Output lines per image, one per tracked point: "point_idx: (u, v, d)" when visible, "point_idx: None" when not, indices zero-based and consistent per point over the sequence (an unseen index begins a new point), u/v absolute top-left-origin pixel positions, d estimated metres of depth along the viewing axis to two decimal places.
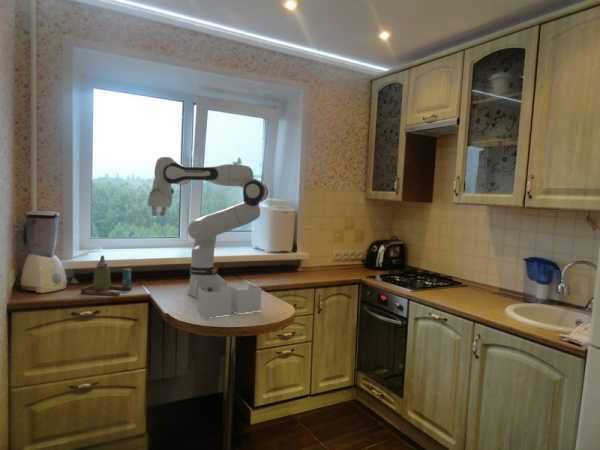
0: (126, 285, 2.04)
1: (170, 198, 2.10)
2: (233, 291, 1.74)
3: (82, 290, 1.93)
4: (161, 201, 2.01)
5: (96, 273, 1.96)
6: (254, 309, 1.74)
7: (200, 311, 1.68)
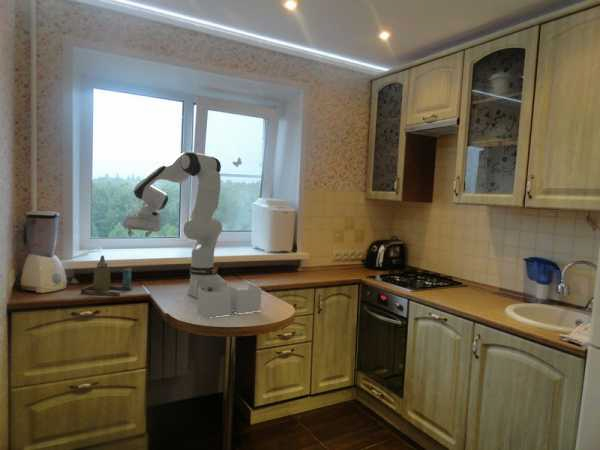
0: (126, 285, 2.04)
1: (156, 220, 2.20)
2: (233, 291, 1.74)
3: (82, 290, 1.93)
4: (138, 222, 2.19)
5: (96, 273, 1.96)
6: (254, 309, 1.74)
7: (200, 311, 1.68)
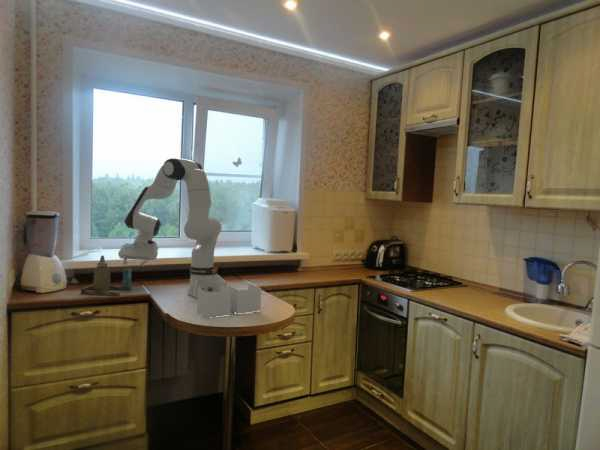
0: (126, 285, 2.04)
1: (152, 249, 2.16)
2: (233, 291, 1.74)
3: (82, 290, 1.93)
4: (133, 251, 2.16)
5: (96, 273, 1.96)
6: (254, 309, 1.74)
7: (200, 311, 1.68)
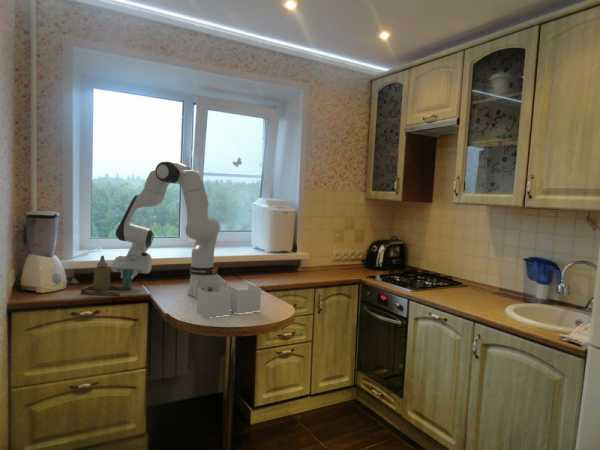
0: (126, 285, 2.04)
1: (146, 262, 2.09)
2: (233, 291, 1.74)
3: (82, 290, 1.93)
4: (126, 264, 2.08)
5: (96, 273, 1.96)
6: (254, 309, 1.74)
7: (200, 311, 1.68)
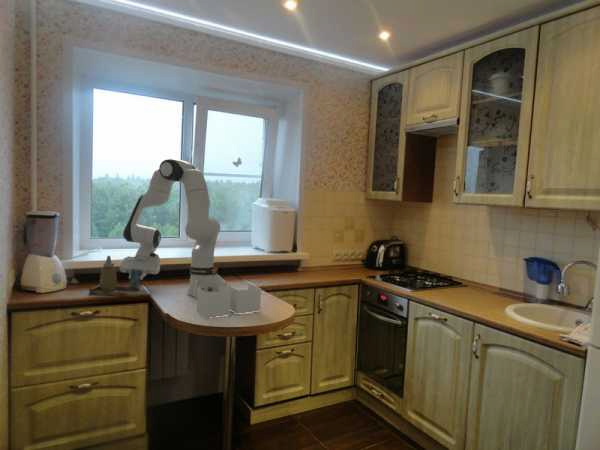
0: (134, 285, 2.04)
1: (154, 262, 2.09)
2: (232, 291, 1.74)
3: (90, 290, 1.92)
4: (135, 265, 2.08)
5: (102, 273, 1.96)
6: (253, 309, 1.74)
7: (199, 311, 1.68)
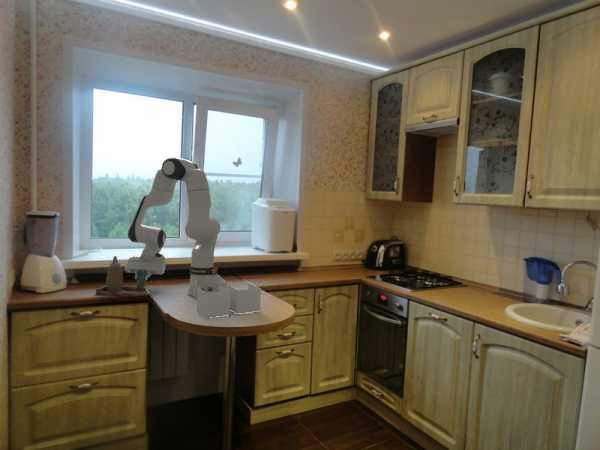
0: (140, 286, 2.04)
1: (159, 262, 2.09)
2: (232, 291, 1.74)
3: (97, 291, 1.92)
4: (140, 265, 2.08)
5: (109, 274, 1.95)
6: (253, 309, 1.74)
7: (199, 311, 1.68)
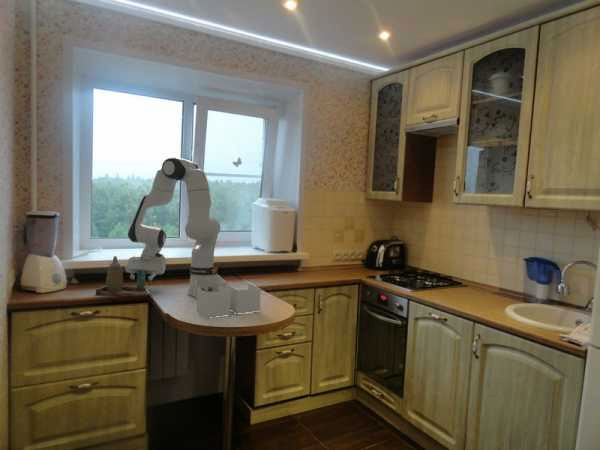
0: (140, 286, 2.04)
1: (160, 262, 2.09)
2: (232, 291, 1.74)
3: (97, 291, 1.92)
4: (140, 265, 2.08)
5: (109, 274, 1.95)
6: (253, 309, 1.74)
7: (199, 311, 1.68)
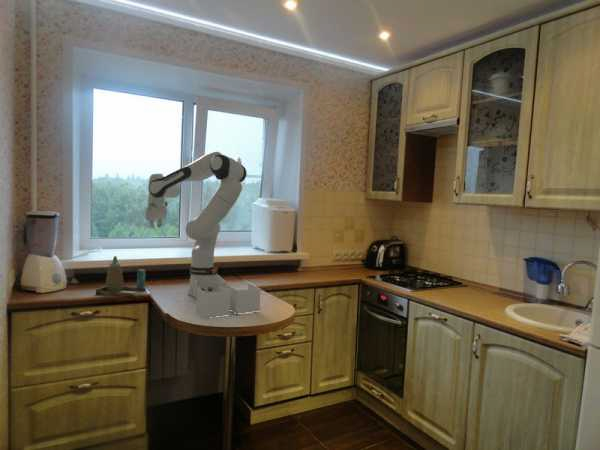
0: (140, 286, 2.04)
1: (165, 210, 2.29)
2: (232, 291, 1.74)
3: (97, 291, 1.92)
4: (158, 215, 2.19)
5: (109, 274, 1.95)
6: (253, 309, 1.74)
7: (199, 311, 1.68)
